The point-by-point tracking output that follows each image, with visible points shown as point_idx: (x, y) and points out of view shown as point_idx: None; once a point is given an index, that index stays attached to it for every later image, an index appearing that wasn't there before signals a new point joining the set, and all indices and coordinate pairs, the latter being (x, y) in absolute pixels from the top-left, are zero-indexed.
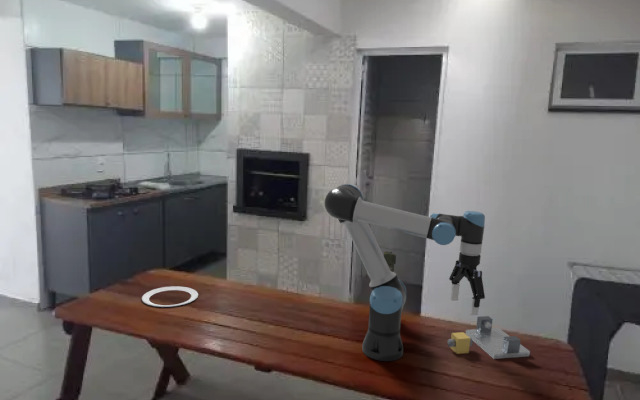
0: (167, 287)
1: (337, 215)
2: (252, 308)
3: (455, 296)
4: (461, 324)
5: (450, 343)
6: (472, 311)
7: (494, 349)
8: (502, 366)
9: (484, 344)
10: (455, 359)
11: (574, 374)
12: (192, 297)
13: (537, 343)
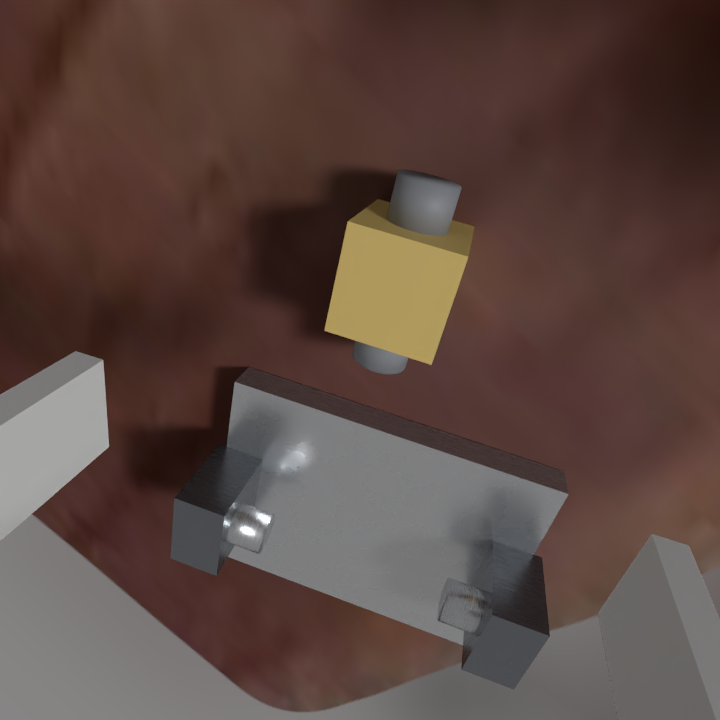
0: None
1: None
2: None
3: (640, 648)
4: None
5: (411, 174)
6: (26, 389)
7: (278, 426)
8: (173, 342)
9: (348, 426)
10: (316, 123)
11: (73, 539)
12: None
13: (310, 650)
